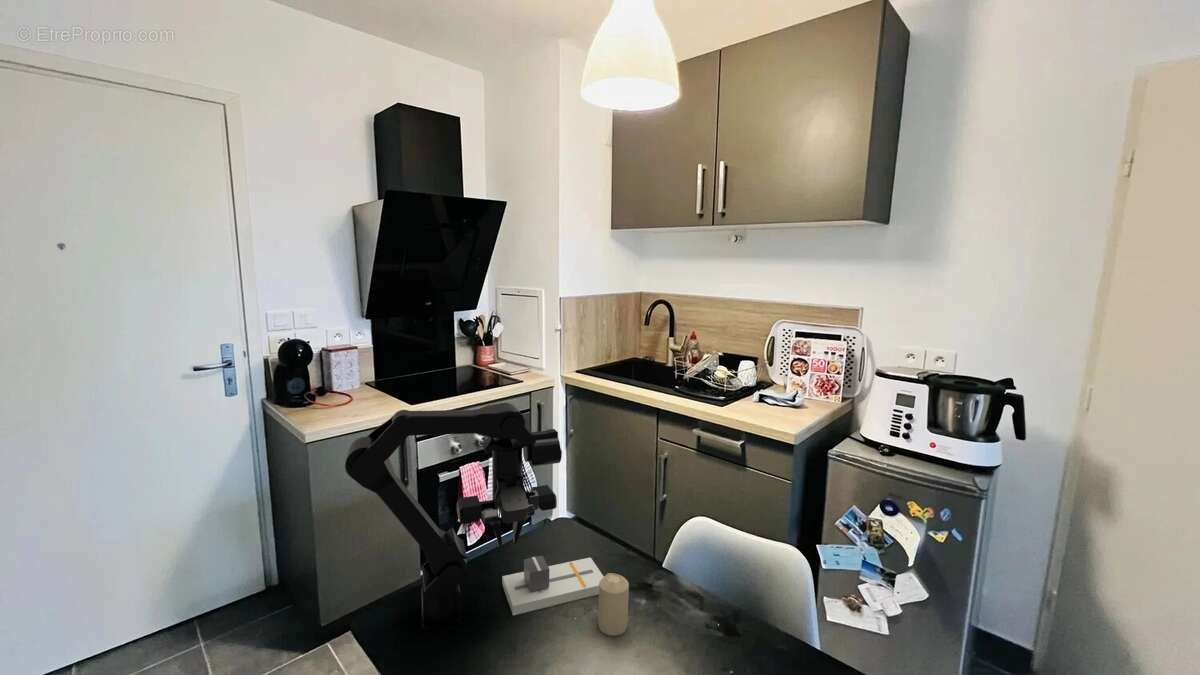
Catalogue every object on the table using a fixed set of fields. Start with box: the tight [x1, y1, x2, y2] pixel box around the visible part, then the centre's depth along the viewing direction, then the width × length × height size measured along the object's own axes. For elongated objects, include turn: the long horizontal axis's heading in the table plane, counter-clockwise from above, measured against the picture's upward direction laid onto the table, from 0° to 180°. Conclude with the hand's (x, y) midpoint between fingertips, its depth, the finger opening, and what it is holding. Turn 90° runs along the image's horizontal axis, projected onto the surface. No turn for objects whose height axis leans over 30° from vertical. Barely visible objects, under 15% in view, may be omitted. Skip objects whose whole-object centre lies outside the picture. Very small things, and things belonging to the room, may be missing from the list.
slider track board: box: [501, 557, 605, 616], centre depth 103 cm, size 20×10×2 cm, turn 113°
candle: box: [597, 572, 630, 637], centre depth 92 cm, size 6×6×10 cm
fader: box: [523, 555, 549, 591], centre depth 101 cm, size 4×5×4 cm
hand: (507, 543), depth 98 cm, fingers open, 3 cm apart
